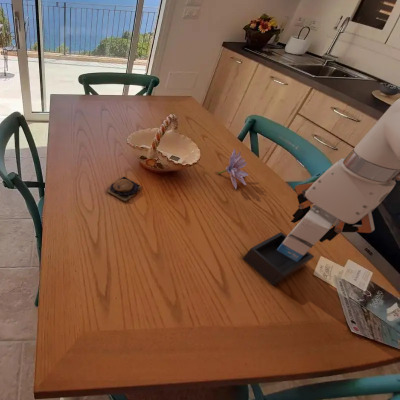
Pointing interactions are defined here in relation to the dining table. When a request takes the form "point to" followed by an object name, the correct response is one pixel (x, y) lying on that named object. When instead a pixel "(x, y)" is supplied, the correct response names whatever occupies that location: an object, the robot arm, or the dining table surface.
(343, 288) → the dining table surface
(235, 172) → the water lily
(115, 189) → the square push button
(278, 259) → the holder
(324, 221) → the ink box
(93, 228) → the dining table surface
